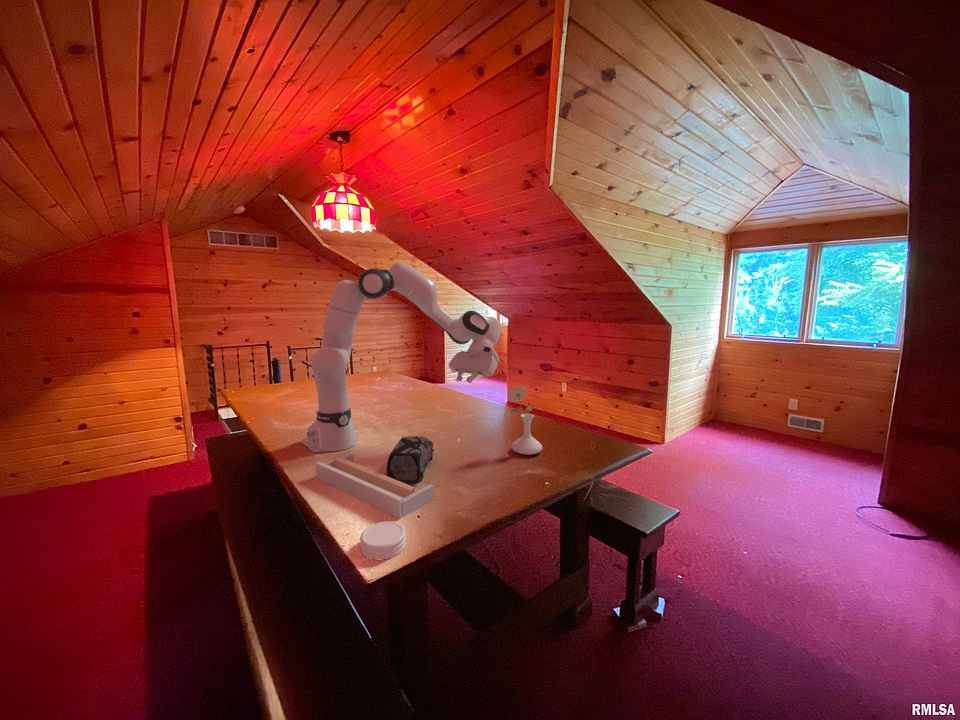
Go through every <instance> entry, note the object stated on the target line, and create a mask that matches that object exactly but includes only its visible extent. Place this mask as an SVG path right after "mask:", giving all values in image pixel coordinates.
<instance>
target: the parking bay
mask: <svg viewBox="0 0 960 720" xmlns="http://www.w3.org/2000/svg"><path fill="white" fill-rule="evenodd" d="M340 457H341V458H343V459H346V460H348V461H351V462H353V463H354V454H353V453H348V454H346V455H343V456H340ZM314 465H315V476H316V477H317V478H316V479H318V478H319V479H318V480H320V479H321V480H320V481H322V480H323V481H322V482H324V481H325V482H324V483H326V482H327V483H326V484H328V483H329V484H328V485H330V484H331V485H330V486H332V485H333V487H334V486H335V488H336V487H337V489H338V488H339V489H338V490H340V489H341V491H342V490H343V491H342V492H344V491H345V492H344V493H346V492H347V493H346V494H348V493H349V494H348V495H351V496H352V495H353V496H352V497H354V496H355V498H357V499H359V500H361V501H362V502H365V503H367V504H368V505H371V506H373V507H375V508H377V509H379V510H381V511H383V512H386V513H387V514H389V515H391V516H393V517H395V518H397V519H400V520H401V519H403V518H404V517H406V516H407V515H410V514H411V513H413V512H415V511H416V510H418V509H420V508H422V507H423V506H425V505H427V504H428V503H430V502H432V501H433V500H435V485H433V484H428V485H426V486H424V487H422V488H420V489H418V490H417V491H416V490H415V492H414V493H412V494H411V495H409V496H407V497H405V498H402V497H400V496H398V495H396V494H393V493H391V492H389V491H386V490H384V489H382V488H380V487H377V486H375V485H373V484H370V483H368V482H366V481H364V480H361V479H359V478H357V477H354V476H352V475H350V474H348V473H345V472H343V471H341V470H339V469H336V468H335V464H334V459H331V460H329V461H325V462H322V461H317V462H315V464H314Z"/></svg>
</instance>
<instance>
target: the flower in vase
mask: <svg viewBox="0 0 960 720" xmlns="http://www.w3.org/2000/svg"><path fill="white" fill-rule="evenodd" d="M527 390H528V389H527V387H524V386H523V385H518V386H517V385H516V386H515V387H513V388H512V389H511V390H509V392H508V394H507V399H508V402H511V403H517V402H519V403H520V407H516V406H515V407H514V408H512V409H511V410H510V413H514V414H515V413H519V412H520V411H522V414H520V418H522V421H523V434H522V435H521V436H520V437H519V438H517V439H516V440H514V441H513V442H512V444H511V449H512V450H513V451H514V452H515V453H517V454H521V455H530V456H531V455H535V454H538V453H541V451H542V450H543V445H542V444H541V443H540V441H538V440H537V439H536V438H535V437H533V436H532V434H531V426H532V425H531V424H532V421H533V419H534V417H535V415H534V414H532V413H530V412H532V410H533V409H534V404H532V405H530V406H528V407H526V408H525V410H524V409H523V407H522V402H521V401H522V400H524V399H525V398H526V396H527V395H528V391H527Z"/></svg>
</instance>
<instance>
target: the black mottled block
mask: <svg viewBox="0 0 960 720" xmlns="http://www.w3.org/2000/svg"><path fill="white" fill-rule="evenodd" d="M433 452H435V449H434V441H432V440H429V438H428V437H424V436H418V435H417V436H414V435H413V436H403V437H401V438H400V439H399V441H398V442H397V443H396V445H395V446H394V448H393V449H392V450H391V453H390V454H389V456H388V459H387V465H386V476H388V477H390V478H393V479H395V480H398V481H400V482H403V483H405V484H408V483H409V484H410V483H411V484H412V483H413V484H416V483H417V484H418V483H421V482H422V481H423V479H424V472H425V470H426V469H427V466H428V465H429V461H430V462H431V461H433Z"/></svg>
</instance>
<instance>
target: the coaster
mask: <svg viewBox="0 0 960 720" xmlns="http://www.w3.org/2000/svg"><path fill="white" fill-rule="evenodd" d="M406 534H407V532H406V529H405V527H404V526H403V525H402V524H400V523H397V522H395V521H380V522H376V523H374V524H371V525H369V526H368V527H367V528H365V529H364V530H363V531H362V533H361V534H360V535H359V536H360V538H359V541H360V543H359V545H360V552H361V554H362V555H363V556H364V557H365V556H366V557H368V558H367V559H369V558H371V559H370V560H372V559H385V560H388V558H389V559H392V558H394V557H396V556H397V555H399V554H401V553H402V552H403V551H404V550H405V547H406V545H407V539H406V538H407V536H406ZM366 557H365V558H366Z"/></svg>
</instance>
